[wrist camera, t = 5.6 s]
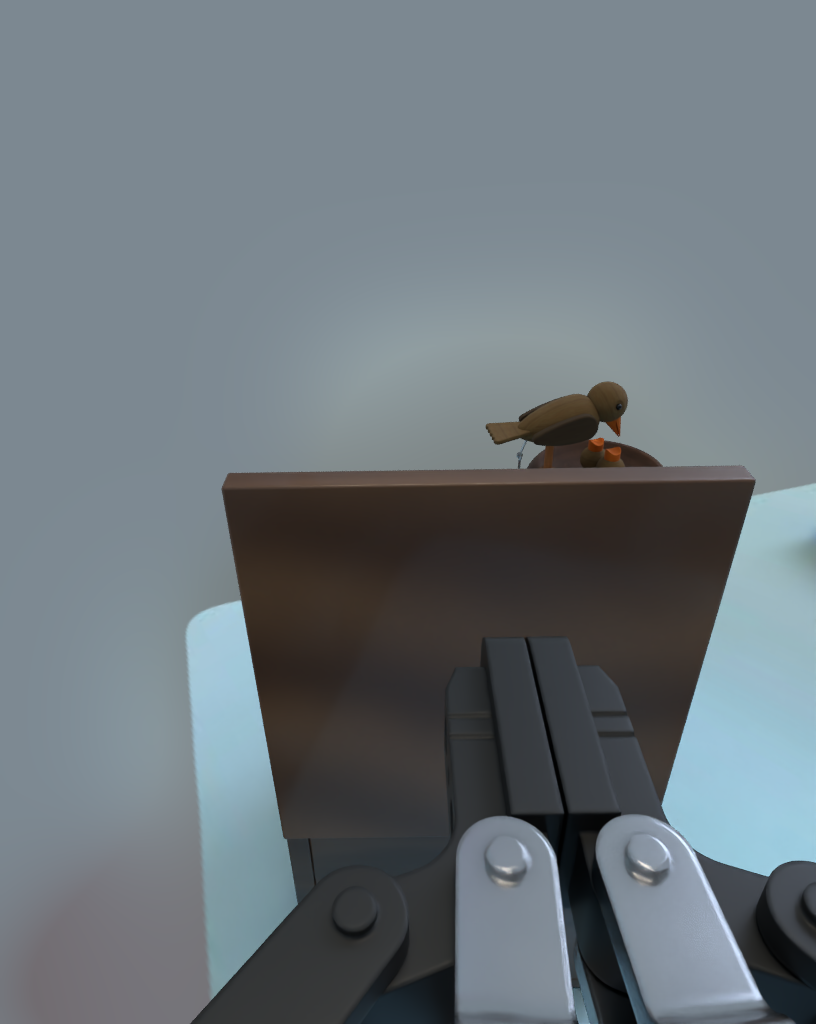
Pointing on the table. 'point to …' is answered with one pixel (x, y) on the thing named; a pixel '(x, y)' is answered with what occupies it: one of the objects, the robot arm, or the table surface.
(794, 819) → the table surface
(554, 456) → the music box
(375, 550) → the lid
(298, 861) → the chest
